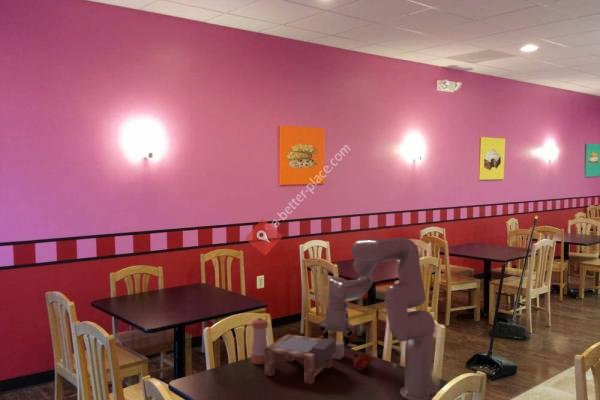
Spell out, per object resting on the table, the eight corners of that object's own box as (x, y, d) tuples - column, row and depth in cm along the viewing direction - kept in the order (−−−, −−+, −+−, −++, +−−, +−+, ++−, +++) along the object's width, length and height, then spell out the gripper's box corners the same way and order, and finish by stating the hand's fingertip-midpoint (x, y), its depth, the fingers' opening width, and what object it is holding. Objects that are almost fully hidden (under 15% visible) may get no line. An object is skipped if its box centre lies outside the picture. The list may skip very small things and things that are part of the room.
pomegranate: (372, 373, 224) (356, 355, 228) (381, 363, 220) (364, 345, 225) (362, 380, 219) (346, 362, 223) (370, 370, 215) (354, 351, 219)
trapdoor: (336, 351, 221) (336, 339, 221) (322, 362, 209) (322, 349, 208) (291, 344, 230) (291, 332, 230) (276, 354, 218) (276, 342, 217)
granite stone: (344, 356, 239) (344, 342, 239) (339, 359, 234) (339, 346, 234) (333, 354, 241) (333, 341, 241) (329, 357, 237) (329, 344, 236)
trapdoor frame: (331, 366, 226) (331, 340, 226) (311, 384, 208) (311, 356, 207) (288, 358, 235) (288, 334, 235) (264, 374, 217) (264, 348, 216)
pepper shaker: (270, 363, 230) (270, 319, 229) (254, 365, 227) (254, 321, 226) (265, 357, 237) (265, 314, 236) (249, 359, 234) (249, 316, 233)
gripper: (358, 306, 236) (357, 343, 237) (322, 301, 244) (321, 337, 245) (352, 310, 229) (351, 349, 231) (315, 305, 237) (315, 342, 238)
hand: (336, 343), depth 238 cm, fingers open, 9 cm apart
